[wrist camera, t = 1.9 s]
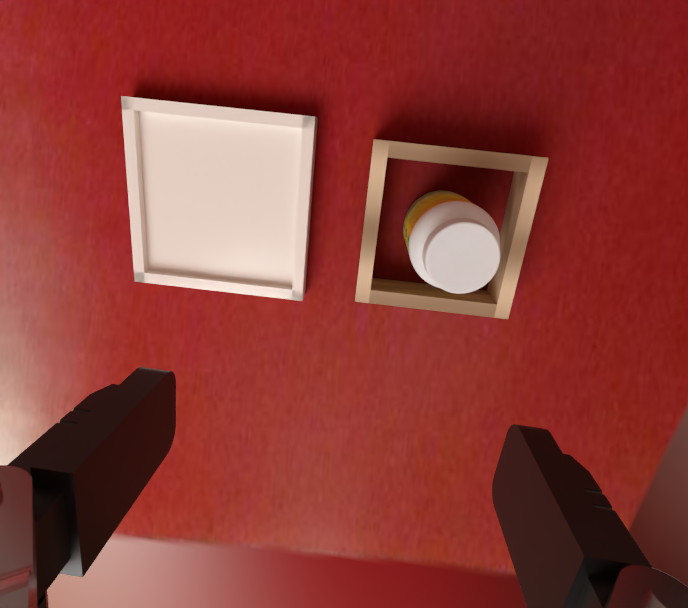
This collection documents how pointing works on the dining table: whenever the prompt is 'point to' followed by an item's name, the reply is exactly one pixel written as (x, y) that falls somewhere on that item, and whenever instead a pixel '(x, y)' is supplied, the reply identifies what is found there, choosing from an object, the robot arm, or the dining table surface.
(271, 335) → the dining table surface
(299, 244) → the ceramic tray
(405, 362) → the dining table surface
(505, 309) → the oak holder
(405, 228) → the supplement bottle
